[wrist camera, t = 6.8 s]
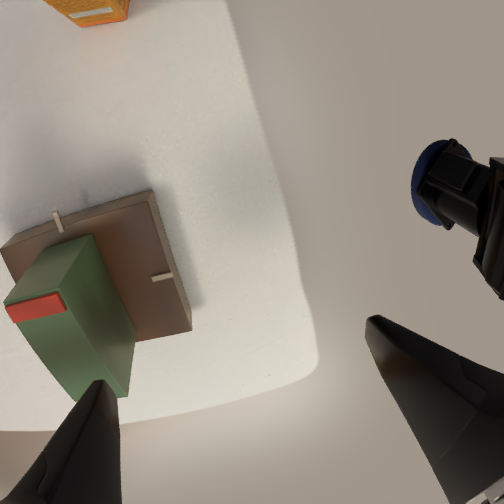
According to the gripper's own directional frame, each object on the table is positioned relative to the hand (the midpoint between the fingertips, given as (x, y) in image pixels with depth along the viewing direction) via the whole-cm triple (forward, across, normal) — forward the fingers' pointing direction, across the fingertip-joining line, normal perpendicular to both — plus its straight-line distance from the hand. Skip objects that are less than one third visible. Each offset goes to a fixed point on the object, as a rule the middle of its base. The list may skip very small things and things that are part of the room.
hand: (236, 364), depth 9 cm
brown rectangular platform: (+13, +9, +2) cm, 16 cm away
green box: (+10, +9, +2) cm, 14 cm away
